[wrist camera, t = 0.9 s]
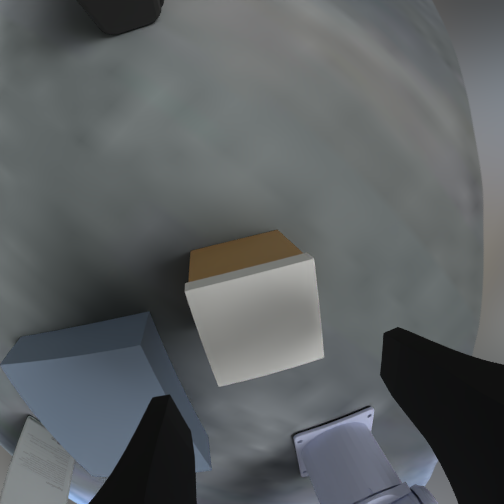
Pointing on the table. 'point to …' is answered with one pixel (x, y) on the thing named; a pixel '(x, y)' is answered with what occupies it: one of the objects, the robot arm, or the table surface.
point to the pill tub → (255, 306)
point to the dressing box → (99, 387)
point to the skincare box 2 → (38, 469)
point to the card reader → (122, 13)
